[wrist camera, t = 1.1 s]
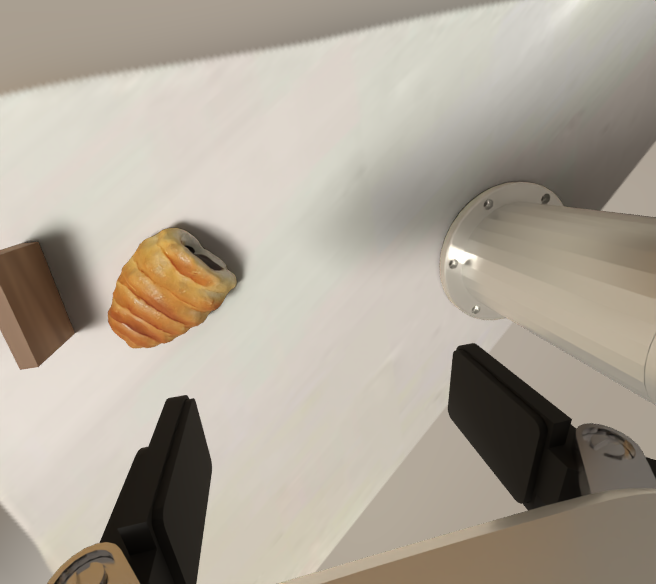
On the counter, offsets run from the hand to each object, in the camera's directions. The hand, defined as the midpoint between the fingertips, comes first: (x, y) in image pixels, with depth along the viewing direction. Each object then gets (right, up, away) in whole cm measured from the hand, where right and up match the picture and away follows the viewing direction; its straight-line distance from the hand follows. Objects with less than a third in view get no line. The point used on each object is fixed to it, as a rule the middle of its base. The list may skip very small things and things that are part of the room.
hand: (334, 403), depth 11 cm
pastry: (-12, +4, +14) cm, 19 cm away
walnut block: (-20, +4, +12) cm, 23 cm away
